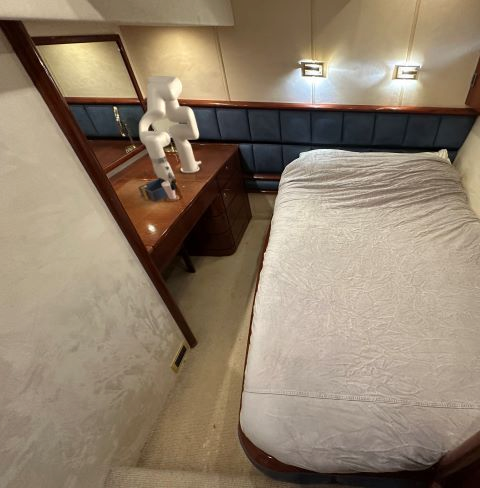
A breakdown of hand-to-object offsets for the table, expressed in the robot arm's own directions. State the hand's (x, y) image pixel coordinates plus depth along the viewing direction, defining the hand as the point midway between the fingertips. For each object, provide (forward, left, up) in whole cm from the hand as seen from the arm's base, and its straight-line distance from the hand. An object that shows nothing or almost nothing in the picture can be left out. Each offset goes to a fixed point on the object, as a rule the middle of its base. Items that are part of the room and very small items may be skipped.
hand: (168, 187), depth 157 cm
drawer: (+1, -11, -8) cm, 14 cm away
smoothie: (0, 0, -7) cm, 7 cm away
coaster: (0, 0, -8) cm, 8 cm away
